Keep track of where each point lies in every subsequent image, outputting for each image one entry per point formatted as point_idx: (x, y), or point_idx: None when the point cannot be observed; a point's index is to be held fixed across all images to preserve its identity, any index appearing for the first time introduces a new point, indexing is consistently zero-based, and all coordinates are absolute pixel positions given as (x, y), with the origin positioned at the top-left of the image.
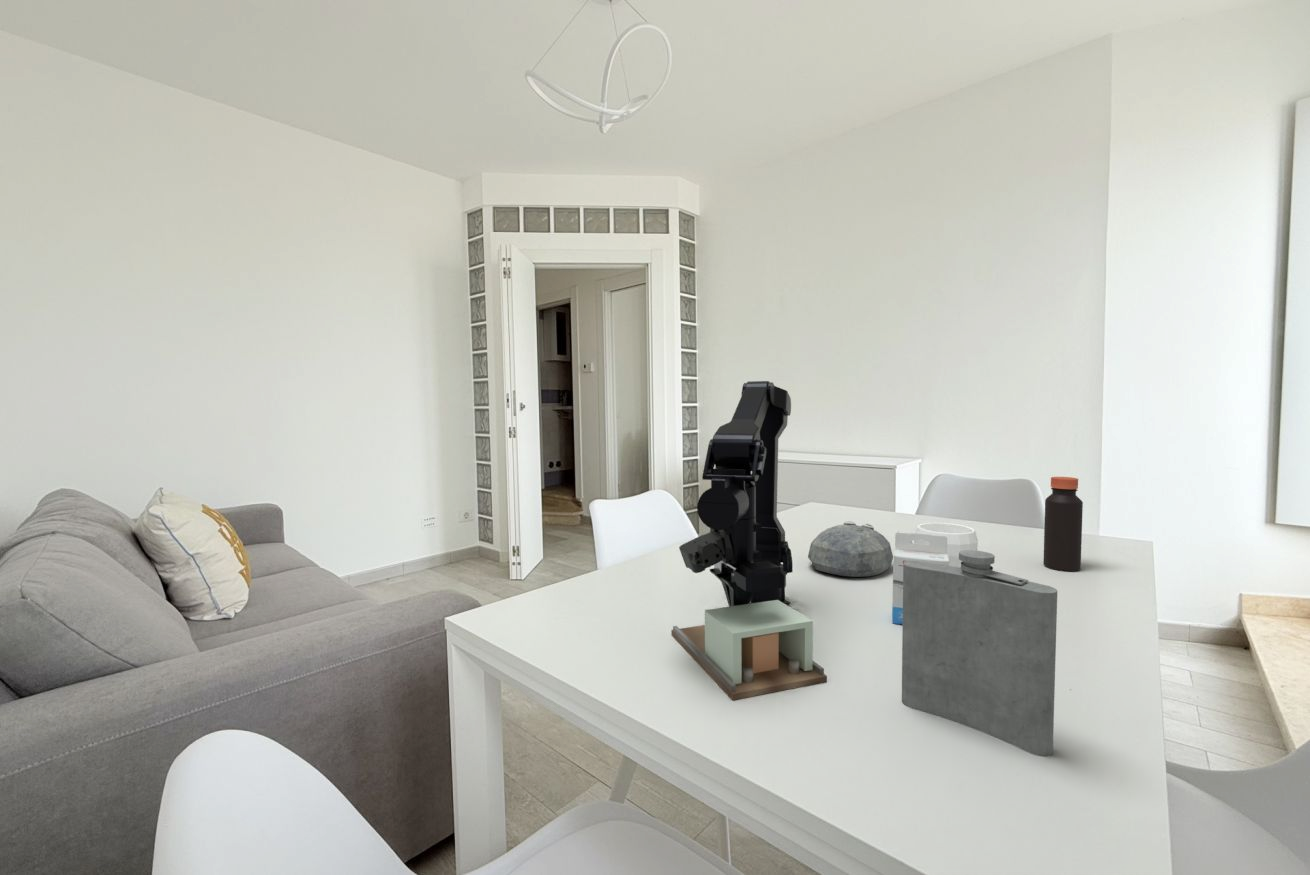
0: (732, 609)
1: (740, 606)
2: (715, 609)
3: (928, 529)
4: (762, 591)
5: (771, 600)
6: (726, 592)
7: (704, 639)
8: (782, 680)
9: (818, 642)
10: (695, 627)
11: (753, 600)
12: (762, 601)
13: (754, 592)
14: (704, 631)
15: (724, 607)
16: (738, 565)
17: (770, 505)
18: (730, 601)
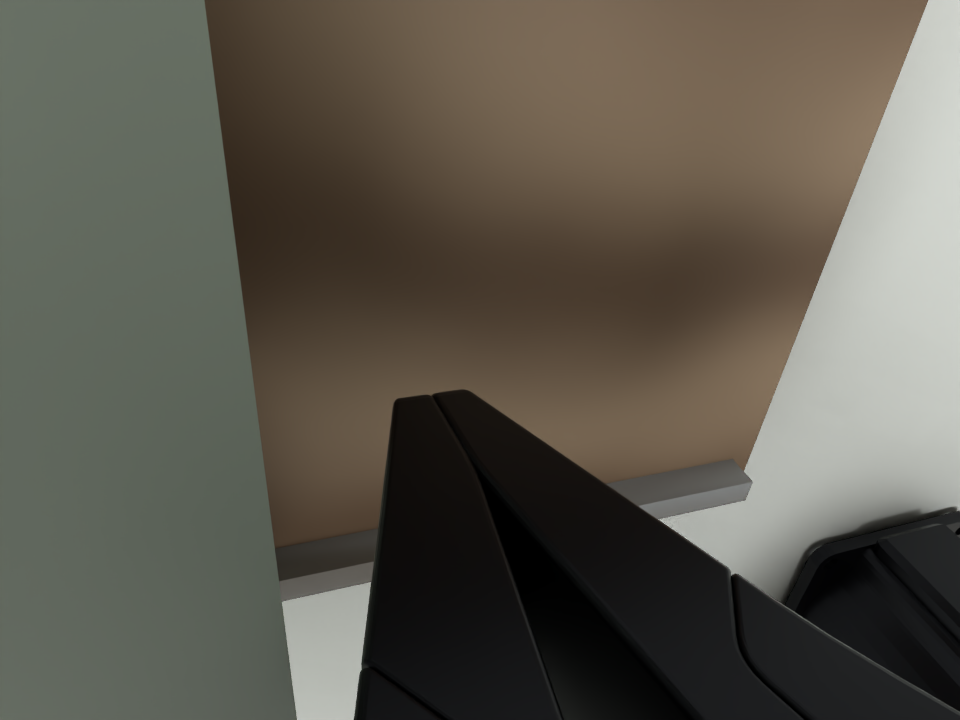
0: (4, 537)
1: (203, 684)
2: (98, 50)
3: None
4: (891, 637)
5: (818, 626)
6: (738, 664)
7: (636, 6)
8: None
9: (307, 703)
10: (887, 49)
11: (885, 555)
12: (847, 586)
13: (920, 598)
14: (774, 94)
15: (240, 391)
16: None
17: None
18: (554, 565)
